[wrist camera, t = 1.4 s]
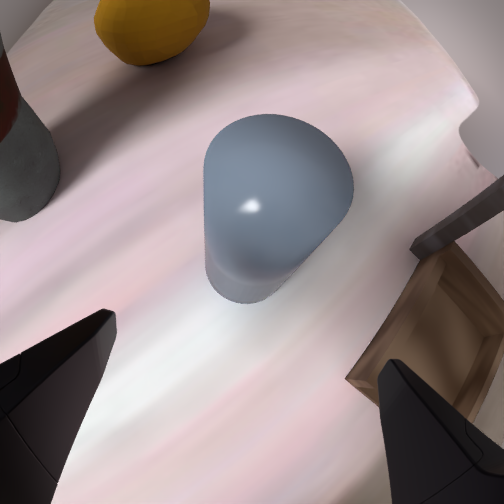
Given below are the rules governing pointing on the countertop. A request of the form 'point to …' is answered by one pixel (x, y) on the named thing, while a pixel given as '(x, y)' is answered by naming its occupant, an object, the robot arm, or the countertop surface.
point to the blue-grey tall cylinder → (269, 202)
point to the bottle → (23, 153)
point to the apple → (149, 27)
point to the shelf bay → (444, 316)
